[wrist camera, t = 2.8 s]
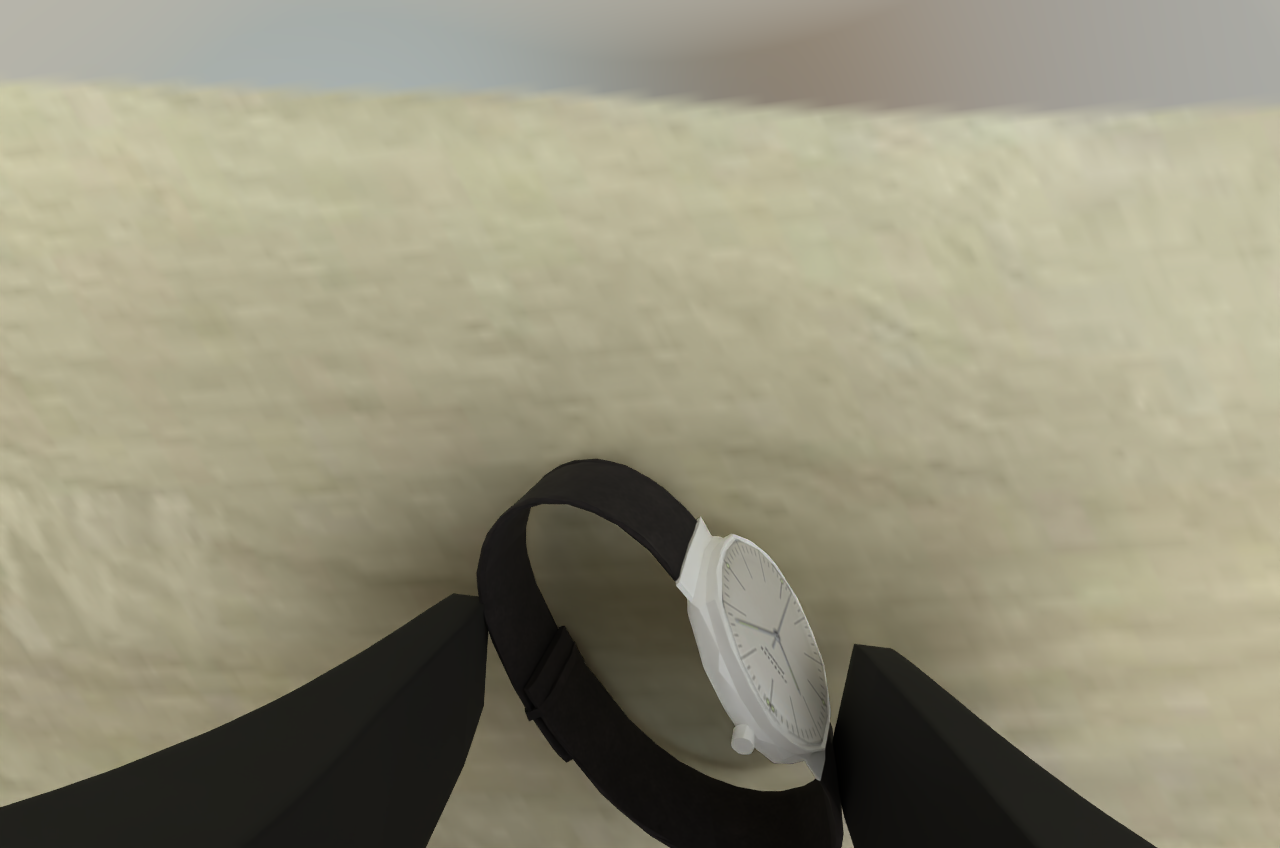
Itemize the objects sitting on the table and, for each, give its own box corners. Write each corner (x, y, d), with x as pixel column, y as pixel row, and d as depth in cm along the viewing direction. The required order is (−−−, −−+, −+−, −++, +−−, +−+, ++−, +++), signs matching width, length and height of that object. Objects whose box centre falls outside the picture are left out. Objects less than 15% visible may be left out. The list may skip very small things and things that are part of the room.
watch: (886, 721, 12) (979, 915, 8) (677, 827, 12) (680, 1046, 9) (657, 386, 10) (649, 444, 7) (440, 529, 11) (334, 647, 8)
